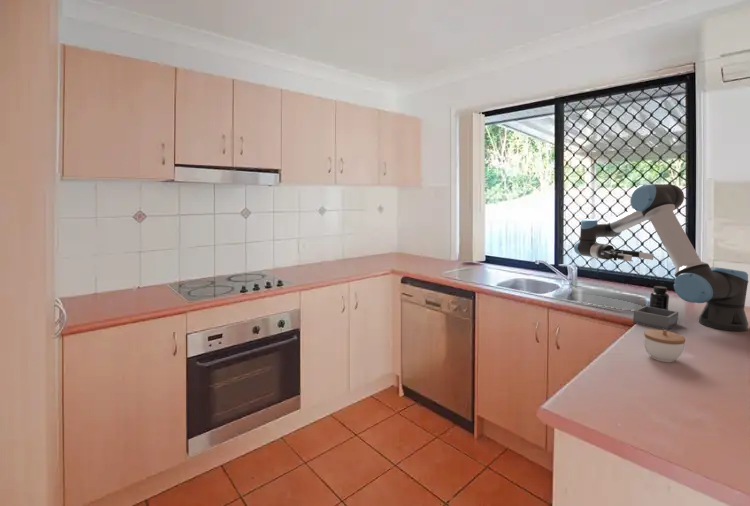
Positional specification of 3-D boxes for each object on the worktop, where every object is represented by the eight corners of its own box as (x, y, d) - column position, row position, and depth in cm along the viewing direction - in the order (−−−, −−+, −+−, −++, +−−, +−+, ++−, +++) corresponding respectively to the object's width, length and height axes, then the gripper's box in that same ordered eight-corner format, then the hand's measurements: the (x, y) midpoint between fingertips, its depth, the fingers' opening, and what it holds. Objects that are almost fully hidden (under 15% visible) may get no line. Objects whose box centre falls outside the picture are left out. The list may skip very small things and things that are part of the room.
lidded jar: (642, 360, 129) (645, 332, 128) (641, 349, 138) (644, 322, 137) (684, 367, 123) (688, 338, 122) (680, 356, 132) (684, 328, 131)
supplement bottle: (649, 310, 185) (652, 284, 183) (667, 313, 181) (670, 286, 179) (647, 313, 180) (650, 287, 178) (666, 316, 175) (669, 289, 174)
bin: (677, 323, 165) (678, 312, 165) (667, 329, 158) (668, 317, 157) (643, 317, 175) (644, 305, 174) (633, 322, 167) (634, 310, 167)
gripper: (620, 257, 210) (660, 264, 190) (582, 260, 202) (620, 267, 182) (621, 243, 209) (662, 248, 189) (584, 245, 201) (622, 250, 181)
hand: (642, 257), depth 186 cm, fingers open, 13 cm apart
